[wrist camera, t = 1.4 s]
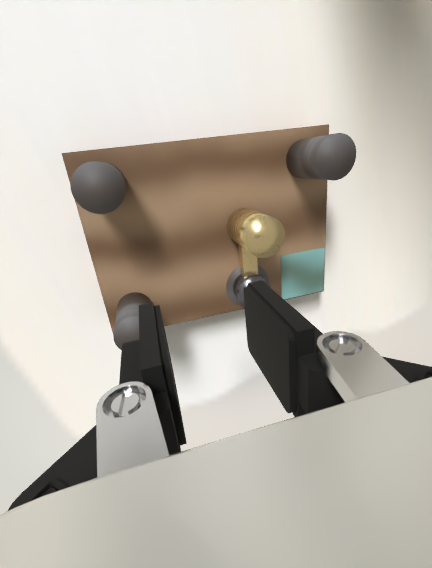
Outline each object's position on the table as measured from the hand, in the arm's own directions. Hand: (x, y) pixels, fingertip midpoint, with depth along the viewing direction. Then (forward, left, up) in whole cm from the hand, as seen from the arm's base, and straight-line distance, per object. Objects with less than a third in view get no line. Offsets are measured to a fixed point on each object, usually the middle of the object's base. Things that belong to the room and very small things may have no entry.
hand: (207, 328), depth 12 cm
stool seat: (+1, +4, -19) cm, 20 cm away
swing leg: (+3, +7, -16) cm, 18 cm away
